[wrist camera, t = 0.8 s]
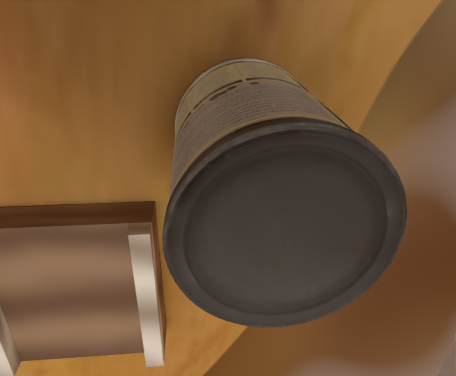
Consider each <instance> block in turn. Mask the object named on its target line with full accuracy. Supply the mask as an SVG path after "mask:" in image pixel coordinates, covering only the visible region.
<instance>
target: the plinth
mask: <svg viewBox="0 0 456 376" xmlns="http://www.w3.org/2000/svg"><path fill="white" fill-rule="evenodd" d="M165 338H166V316H165V305H164V295H163V284H162V273H161V263H160V252H159V241H158V231H157V220H156V209H155V201H154V202H127V203H100V204H73V205H45V206H18V207H0V376H15V374H16V372H17V369H18V367H19V365H20V363H21V361H31V360H45V359H59V358H73V357H87V356H101V355H115V354H129V353H143V352H144V354H145V361H146V367H152V366H164V354H165Z"/></svg>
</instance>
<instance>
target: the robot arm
mask: <svg viewBox="0 0 456 376" xmlns="http://www.w3.org/2000/svg"><path fill="white" fill-rule="evenodd" d="M438 376H456V333H455V336H454V338H453V341H452V343H451V345H450V348H449V350H448V353H447V355H446V357H445V360H444V362H443V364H442V367H441V369H440V372H439V374H438Z"/></svg>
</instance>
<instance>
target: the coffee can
mask: <svg viewBox="0 0 456 376" xmlns="http://www.w3.org/2000/svg"><path fill="white" fill-rule="evenodd" d="M406 219H407V203H406V195H405V191H404V187H403V185H402V182H401V180H400V177H399V175H398V173H397V171H396V169H395V168H394V166H393V165H392V163H391V162H390V160H389V159H388V158H387V157H386V155H385V154H384V153H383V152H382V151H380V150H379V149H378V148H377V147H376V146H375V145H374V144H372V143H371V142H370V141H368V140H367V139H366V138H364V137H363V136H361V135H360V134H358V133H356V132H354V131H353V130H352V129H351V128H350V127H349V126H347V125H346V124H345V123H344V122H343V121H342V120H341V119H340V118H338V117H337V116H336V115H335V114H334V113H332V112H331V111H330V110H329V109H328V108H327V107H325V106H324V105H323V104H322V103H321V102H320V101H318V100H317V99H316V98H315V97H314V96H313V95H312V94H311V93H310V92H309V91H308V90H306V89H305V88H304V87H303V86H302V85H301V84H299V82H298V81H297V80H296V79H295V78H294V77H293V76H292V75H291V74H290V73H288V72H287V71H286V70H284V69H283V68H282V67H280V66H278V65H276V64H273V63H271V62H268V61H265V60H260V59H252V58H242V59H234V60H228V61H225V62H222V63H220V64H218V65H216V66H214V67H212V68H210V69H208V70H207V71H205V72H204V73H203V74H201V75H200V76H199V77H198V78H197V79H196V80H195V81H194V82H193V83H192V84H191V85H190V86H189V88H188V89H187V91H186V92H185V94H184V95H183V97H182V98H181V101H180V104H179V107H178V109H177V113H176V118H175V143H174V152H173V164H172V176H171V186H170V199H169V203H168V206H167V210H166V215H165V220H164V226H163V238H162V240H163V251H164V255H165V260H166V263H167V266H168V269H169V271H170V273H171V275H172V277H173V279H174V281H175V282H176V284H177V285H178V286H179V288H180V289H181V291H182V292H183V293H184V294H185V295H186V296H187V297H188V298H189V299H190V300H191V301H192V302H193V303H194V304H196V305H197V306H198V307H200V308H201V309H203V310H204V311H206V312H207V313H209V314H211V315H213V316H215V317H218V318H220V319H223V320H226V321H229V322H233V323H236V324H241V325H246V326H252V327H263V328H265V327H283V326H291V325H296V324H302V323H305V322H308V321H312V320H315V319H318V318H321V317H323V316H326V315H328V314H331V313H333V312H335V311H337V310H339V309H341V308H343V307H345V306H346V305H348V304H350V303H351V302H353V301H354V300H355V299H357V298H358V297H359V296H361V295H362V294H363V293H364V292H366V291H367V290H368V289H369V288H370V287H371V286H372V285H373V284H374V283H375V282H376V281H377V280H378V279H379V278H380V277H381V276H382V274H383V273H384V271H385V270H386V269H387V268H388V267H389V265H390V264H391V262H392V260H393V258H394V257H395V255H396V253H397V251H398V249H399V247H400V244H401V241H402V238H403V235H404V231H405V225H406Z"/></svg>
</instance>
